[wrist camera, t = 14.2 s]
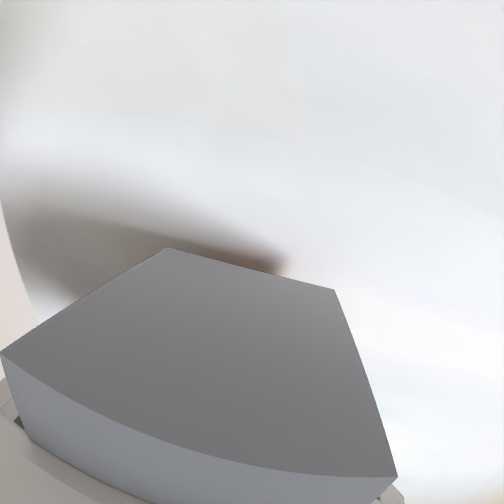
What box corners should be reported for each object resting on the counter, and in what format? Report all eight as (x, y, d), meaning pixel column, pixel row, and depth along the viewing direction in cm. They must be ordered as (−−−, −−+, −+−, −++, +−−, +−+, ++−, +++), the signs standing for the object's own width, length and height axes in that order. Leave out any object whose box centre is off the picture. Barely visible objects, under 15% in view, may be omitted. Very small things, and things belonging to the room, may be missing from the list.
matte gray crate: (167, 246, 12) (-1, 352, 4) (334, 289, 12) (397, 477, 3) (153, 376, 14) (67, 507, 5) (286, 413, 13) (274, 572, 5)
